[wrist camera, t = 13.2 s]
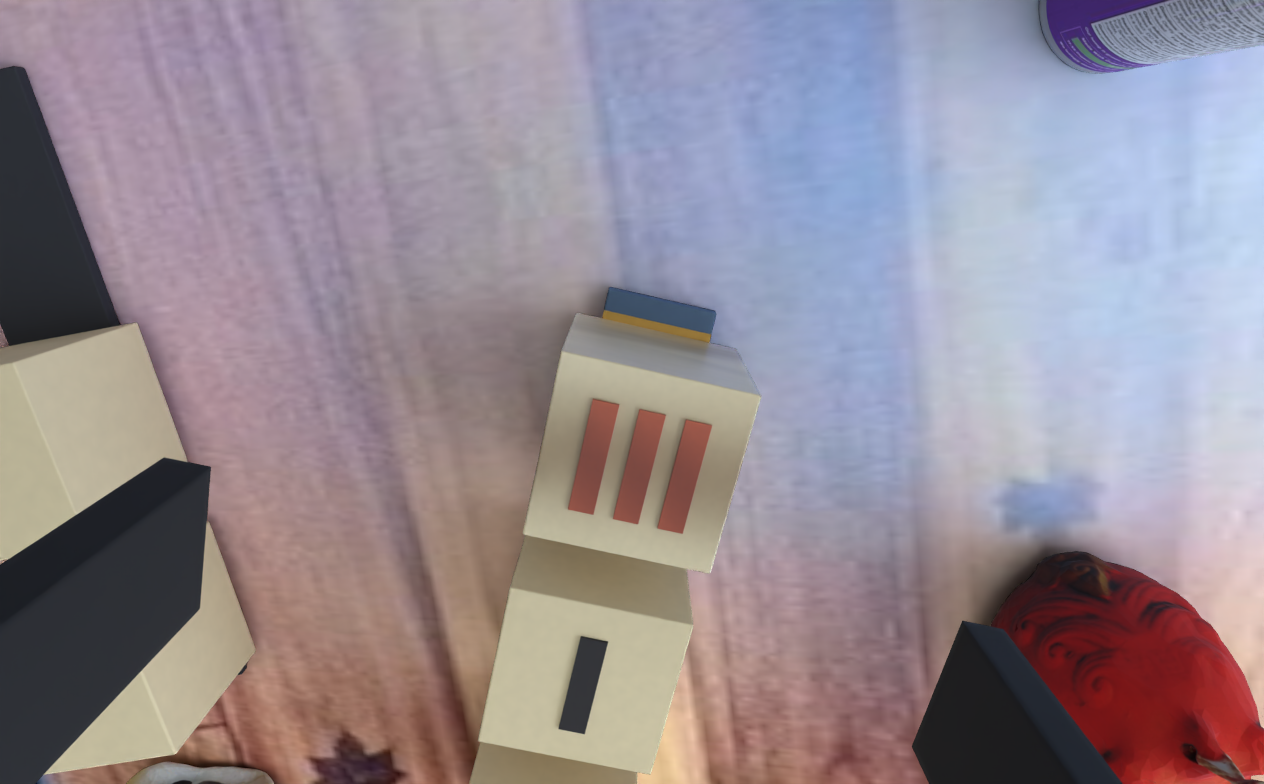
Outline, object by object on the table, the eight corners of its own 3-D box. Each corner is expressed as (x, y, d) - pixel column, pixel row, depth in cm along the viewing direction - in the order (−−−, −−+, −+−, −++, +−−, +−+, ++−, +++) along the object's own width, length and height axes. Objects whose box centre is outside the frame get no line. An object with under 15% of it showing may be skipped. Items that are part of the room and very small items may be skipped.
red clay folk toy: (989, 709, 34) (1251, 1116, 19) (949, 570, 32) (1206, 906, 18) (1169, 656, 33) (1581, 1039, 19) (1138, 511, 31) (1570, 811, 17)
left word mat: (-112, 96, 27) (-341, 76, 21) (52, 61, 27) (-129, 30, 20) (135, 685, 34) (19, 806, 27) (270, 663, 33) (184, 781, 27)
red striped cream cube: (576, 312, 28) (560, 351, 23) (737, 348, 29) (762, 396, 23) (543, 463, 30) (521, 536, 24) (696, 496, 30) (710, 576, 25)
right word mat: (582, 280, 29) (567, 313, 22) (742, 316, 29) (771, 360, 23) (471, 803, 35) (434, 943, 29) (602, 828, 36) (594, 972, 29)
